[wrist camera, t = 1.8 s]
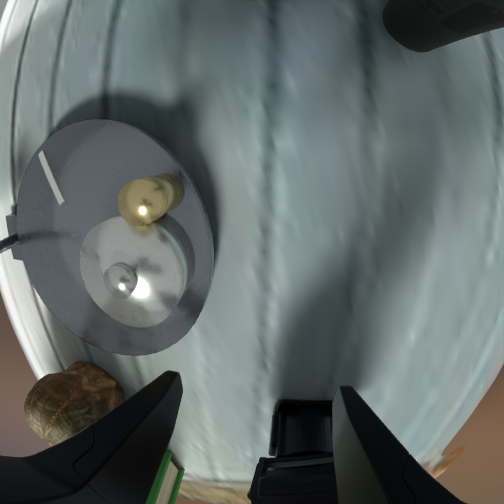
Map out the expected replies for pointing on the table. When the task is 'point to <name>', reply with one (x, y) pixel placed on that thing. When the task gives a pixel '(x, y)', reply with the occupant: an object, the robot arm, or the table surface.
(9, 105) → the table surface
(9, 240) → the dial stand
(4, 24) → the table surface
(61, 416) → the shell
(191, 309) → the platter
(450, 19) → the drinking cup
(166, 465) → the hardback book
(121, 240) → the cover
